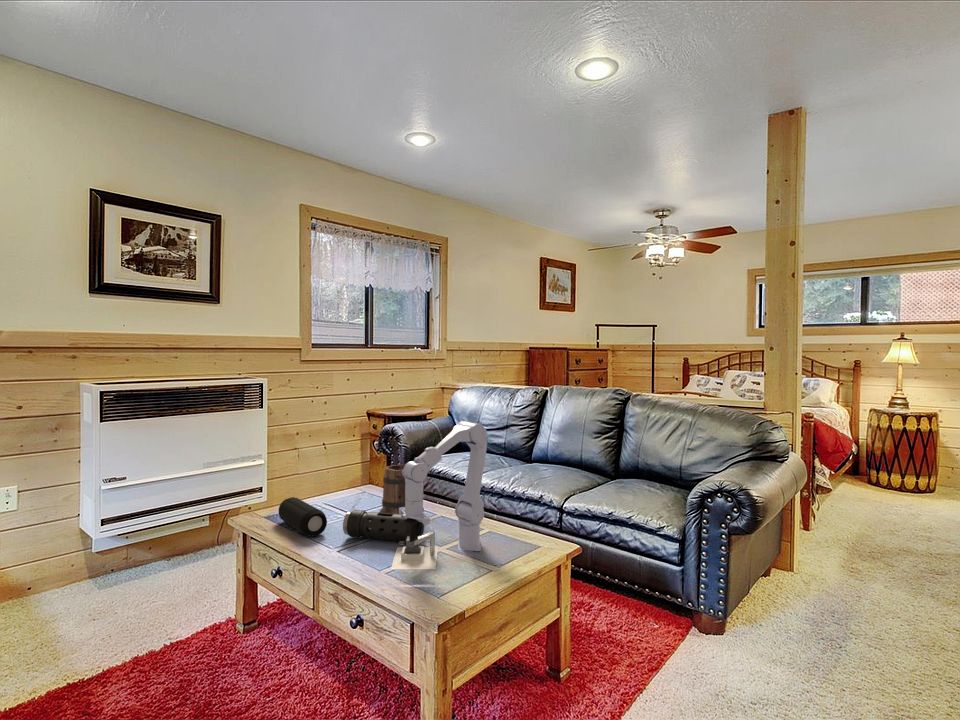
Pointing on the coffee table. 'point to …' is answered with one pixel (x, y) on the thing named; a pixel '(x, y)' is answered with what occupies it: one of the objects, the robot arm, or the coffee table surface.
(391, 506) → the tankard
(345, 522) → the muzzle brake
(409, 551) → the plug
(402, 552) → the socket base
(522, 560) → the coffee table surface
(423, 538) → the clip
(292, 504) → the portable speaker
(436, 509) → the coffee table surface
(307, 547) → the coffee table surface
